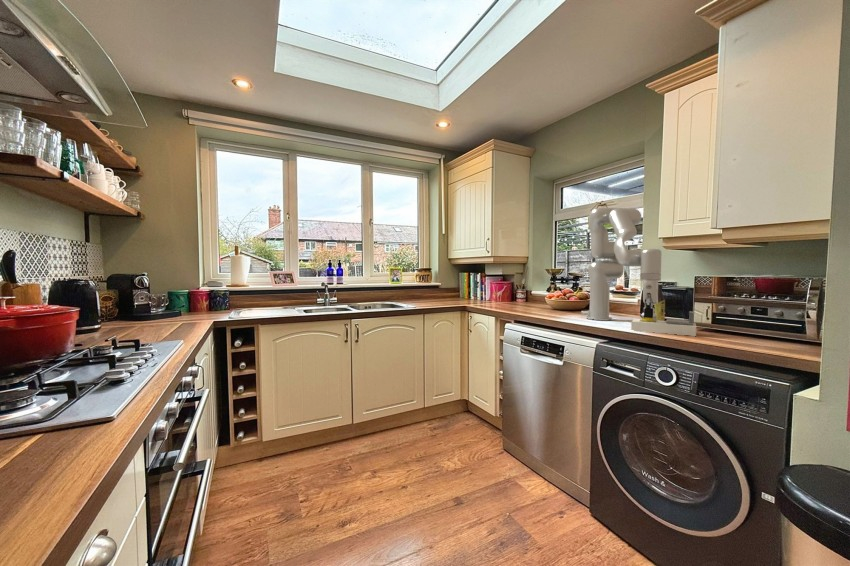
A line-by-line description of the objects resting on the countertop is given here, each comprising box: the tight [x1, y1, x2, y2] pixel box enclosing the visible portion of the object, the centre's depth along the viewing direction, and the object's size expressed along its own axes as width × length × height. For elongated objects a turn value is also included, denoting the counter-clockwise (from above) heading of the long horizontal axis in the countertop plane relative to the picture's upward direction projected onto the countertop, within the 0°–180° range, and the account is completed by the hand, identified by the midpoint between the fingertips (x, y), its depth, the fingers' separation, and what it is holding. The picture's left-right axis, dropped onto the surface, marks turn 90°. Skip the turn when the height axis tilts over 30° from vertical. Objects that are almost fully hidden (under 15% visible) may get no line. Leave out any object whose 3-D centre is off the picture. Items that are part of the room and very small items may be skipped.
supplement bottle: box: [641, 308, 657, 323], centre depth 149 cm, size 5×5×10 cm
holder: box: [630, 318, 697, 337], centre depth 146 cm, size 22×12×4 cm, turn 52°
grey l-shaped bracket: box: [665, 310, 695, 325], centre depth 142 cm, size 9×8×5 cm
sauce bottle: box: [654, 283, 666, 321], centre depth 171 cm, size 7×6×20 cm
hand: (649, 316), depth 149 cm, fingers open, 9 cm apart
